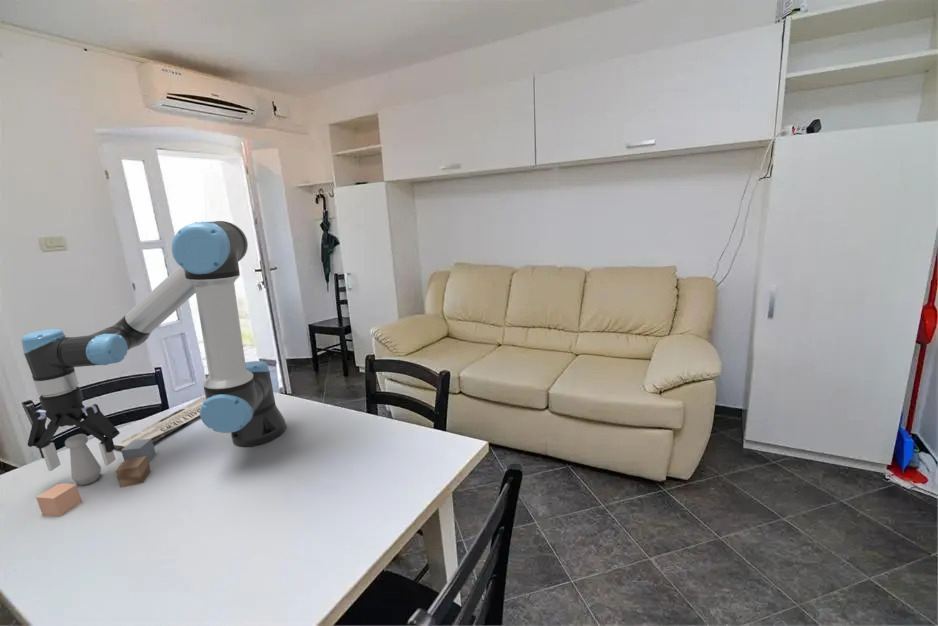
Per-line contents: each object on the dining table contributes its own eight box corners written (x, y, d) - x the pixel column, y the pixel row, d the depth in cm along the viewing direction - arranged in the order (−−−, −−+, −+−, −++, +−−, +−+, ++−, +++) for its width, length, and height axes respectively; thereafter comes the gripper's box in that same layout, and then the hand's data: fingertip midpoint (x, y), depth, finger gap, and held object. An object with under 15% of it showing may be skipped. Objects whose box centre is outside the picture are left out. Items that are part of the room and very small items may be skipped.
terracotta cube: (82, 502, 102) (76, 484, 101) (59, 516, 97) (53, 498, 96) (65, 500, 103) (59, 483, 102) (42, 515, 98) (35, 497, 97)
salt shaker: (86, 488, 107) (70, 443, 104) (68, 486, 108) (53, 442, 105) (109, 474, 113) (95, 431, 109) (92, 472, 114) (78, 430, 111)
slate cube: (155, 453, 122) (151, 438, 120) (144, 463, 117) (140, 448, 115) (137, 455, 121) (133, 440, 120) (125, 465, 116) (120, 450, 115)
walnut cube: (151, 472, 113) (146, 455, 111) (142, 483, 108) (137, 466, 107) (129, 476, 111) (124, 459, 110) (120, 487, 107) (115, 470, 105)
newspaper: (204, 400, 157) (202, 391, 156) (232, 401, 155) (230, 392, 154) (109, 453, 124) (106, 443, 123) (143, 456, 121) (140, 445, 120)
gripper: (123, 380, 109) (142, 452, 114) (19, 388, 107) (44, 461, 112) (101, 393, 102) (123, 468, 107) (-11, 401, 99) (17, 479, 105)
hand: (82, 465), depth 109 cm, fingers open, 13 cm apart
